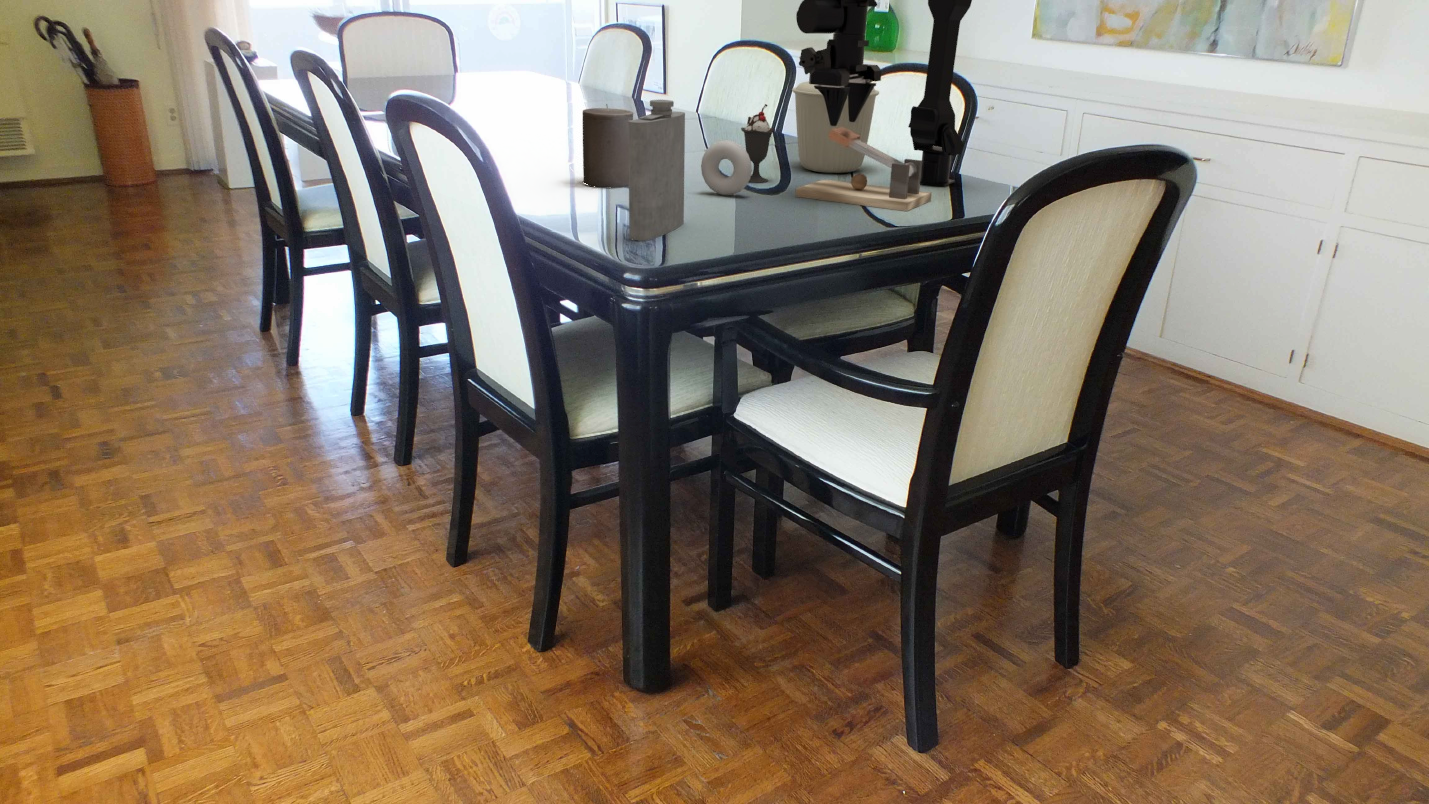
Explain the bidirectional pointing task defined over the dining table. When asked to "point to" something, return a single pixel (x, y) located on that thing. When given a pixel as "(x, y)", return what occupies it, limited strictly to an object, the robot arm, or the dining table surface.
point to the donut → (740, 165)
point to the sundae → (757, 142)
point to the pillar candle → (606, 147)
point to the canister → (816, 127)
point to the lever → (865, 148)
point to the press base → (873, 190)
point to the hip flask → (656, 171)
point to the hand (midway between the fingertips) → (842, 124)
